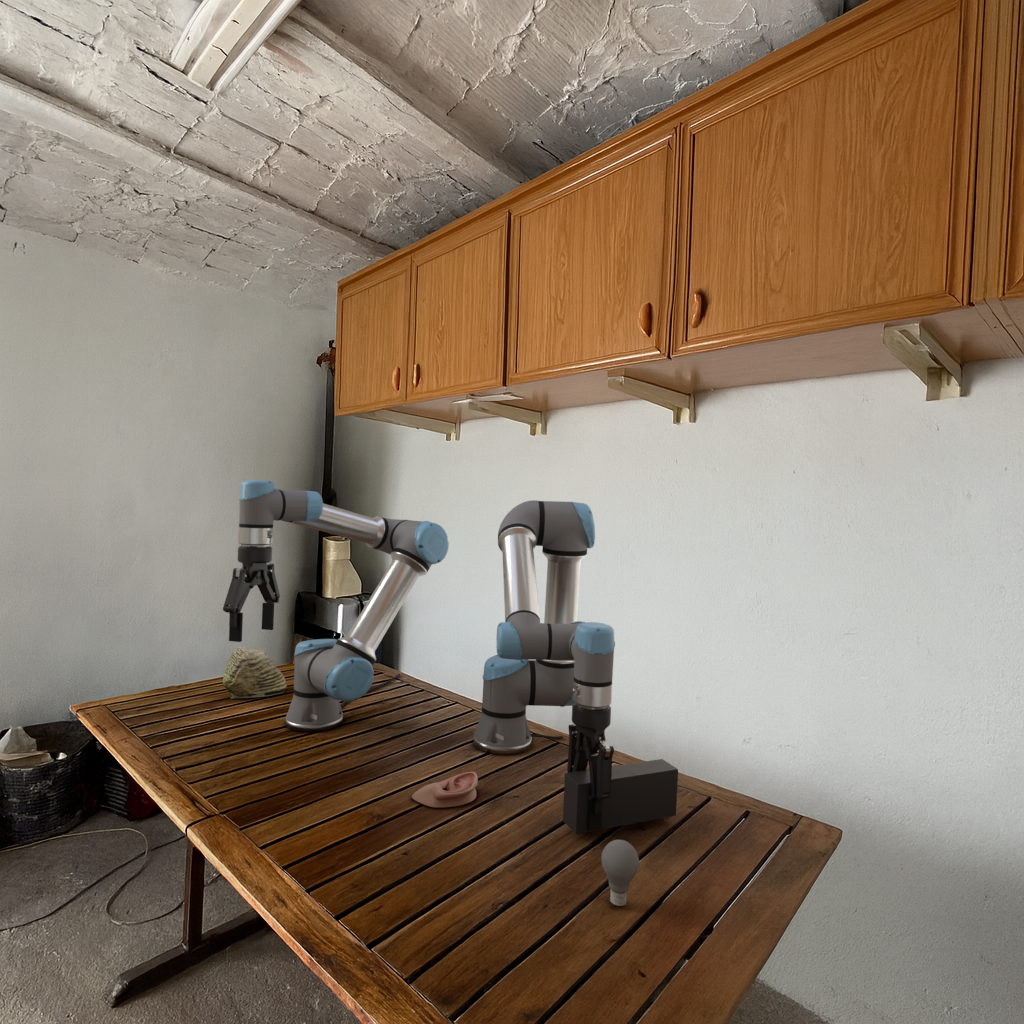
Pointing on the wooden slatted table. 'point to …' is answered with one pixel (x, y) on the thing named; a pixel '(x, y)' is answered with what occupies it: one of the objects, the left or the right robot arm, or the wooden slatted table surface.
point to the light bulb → (619, 868)
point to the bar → (623, 795)
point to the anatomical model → (449, 791)
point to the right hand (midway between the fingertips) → (586, 821)
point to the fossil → (252, 674)
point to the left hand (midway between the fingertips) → (252, 635)
